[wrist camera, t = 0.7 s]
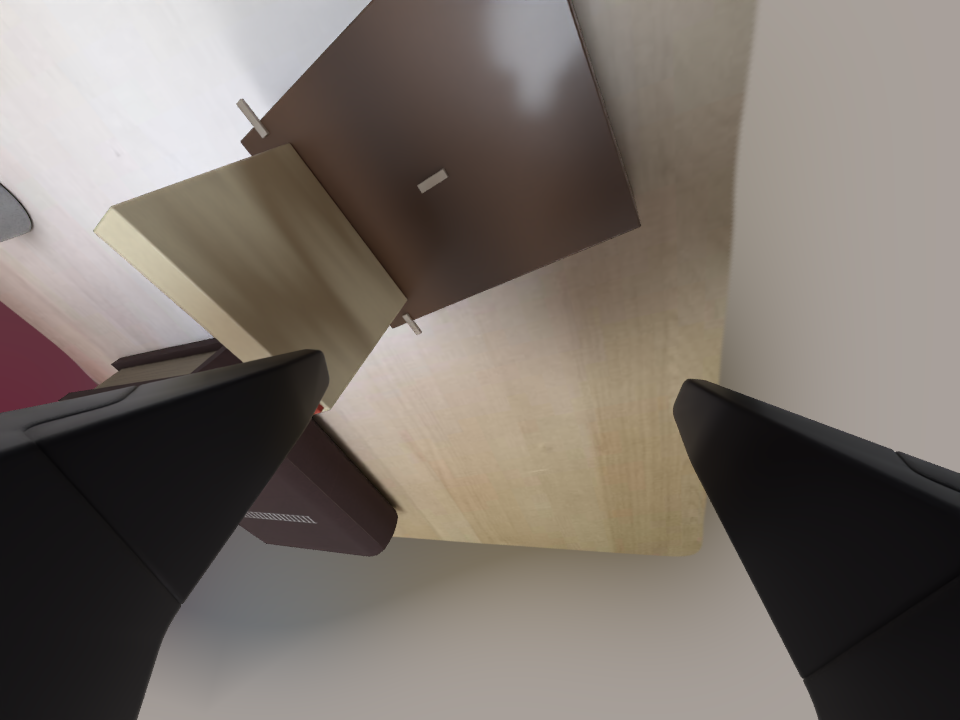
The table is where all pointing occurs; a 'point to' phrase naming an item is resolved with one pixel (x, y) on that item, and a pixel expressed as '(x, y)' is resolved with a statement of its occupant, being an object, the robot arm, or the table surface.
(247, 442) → the robot arm
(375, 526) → the book
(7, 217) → the grey hollow cylinder
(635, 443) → the table surface
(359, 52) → the brown flat piece
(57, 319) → the table surface
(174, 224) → the red-cornered cream slab
